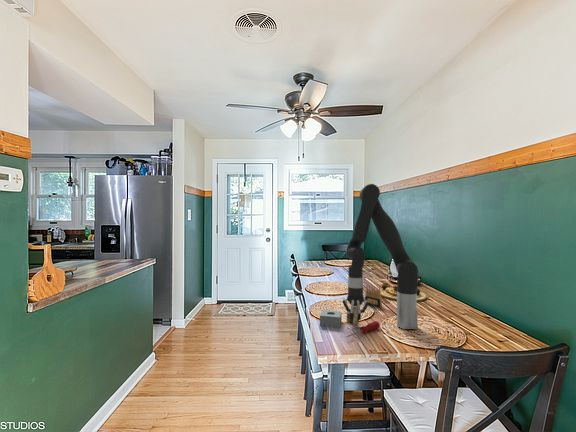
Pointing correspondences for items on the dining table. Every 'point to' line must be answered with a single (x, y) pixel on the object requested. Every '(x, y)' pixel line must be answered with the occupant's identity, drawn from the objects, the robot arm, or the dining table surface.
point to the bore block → (330, 318)
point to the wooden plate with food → (392, 293)
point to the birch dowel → (355, 316)
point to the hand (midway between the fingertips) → (355, 320)
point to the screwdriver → (368, 328)
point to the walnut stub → (349, 317)
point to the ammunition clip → (373, 296)
